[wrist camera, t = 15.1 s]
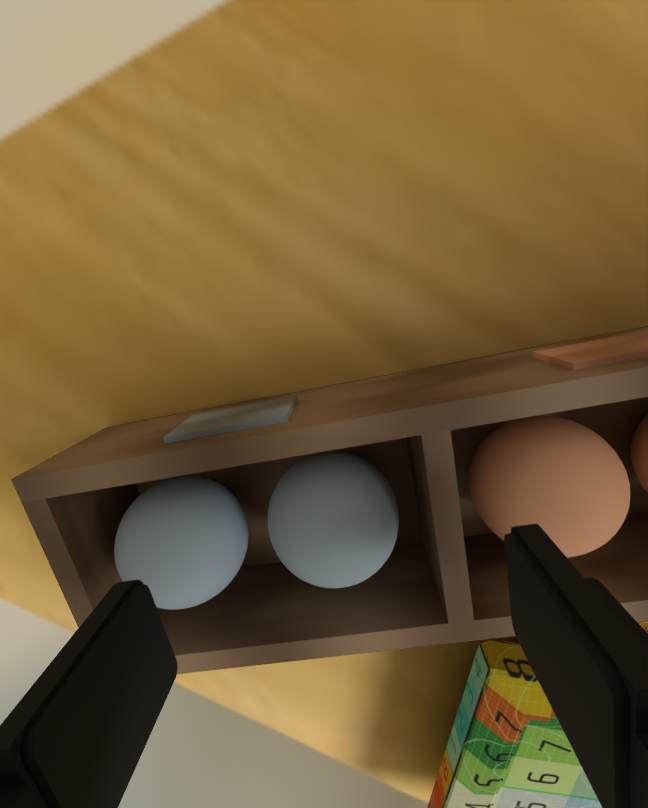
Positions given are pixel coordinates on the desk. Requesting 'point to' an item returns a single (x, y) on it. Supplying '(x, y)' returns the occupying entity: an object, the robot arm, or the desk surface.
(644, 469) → the tan rounded piece
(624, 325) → the desk surface
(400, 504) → the divided wooden box
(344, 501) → the slate ball
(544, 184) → the desk surface
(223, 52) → the desk surface
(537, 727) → the puzzle game
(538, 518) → the terracotta ball
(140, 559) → the blue-grey ball
